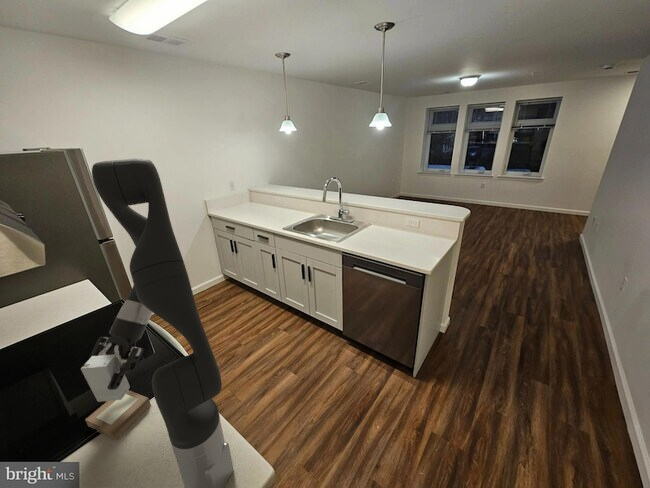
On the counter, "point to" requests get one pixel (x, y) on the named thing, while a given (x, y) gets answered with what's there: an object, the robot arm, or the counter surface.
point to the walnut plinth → (118, 414)
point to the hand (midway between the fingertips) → (101, 384)
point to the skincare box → (103, 378)
